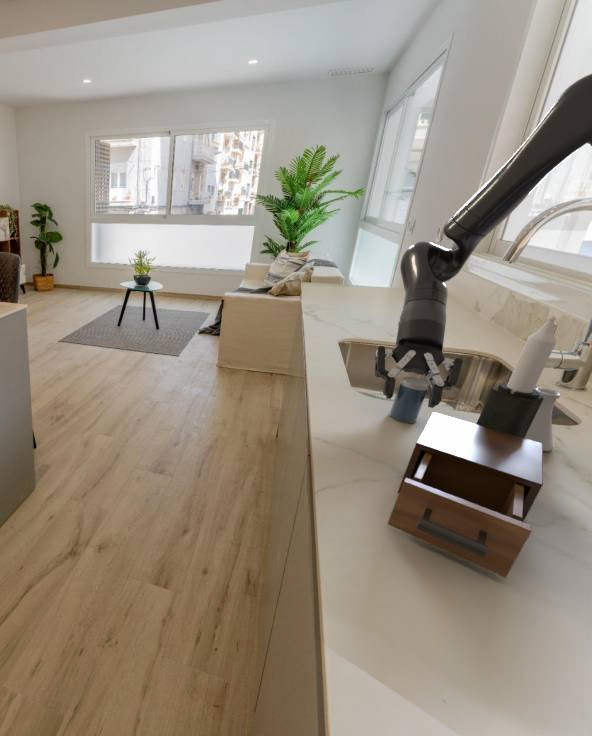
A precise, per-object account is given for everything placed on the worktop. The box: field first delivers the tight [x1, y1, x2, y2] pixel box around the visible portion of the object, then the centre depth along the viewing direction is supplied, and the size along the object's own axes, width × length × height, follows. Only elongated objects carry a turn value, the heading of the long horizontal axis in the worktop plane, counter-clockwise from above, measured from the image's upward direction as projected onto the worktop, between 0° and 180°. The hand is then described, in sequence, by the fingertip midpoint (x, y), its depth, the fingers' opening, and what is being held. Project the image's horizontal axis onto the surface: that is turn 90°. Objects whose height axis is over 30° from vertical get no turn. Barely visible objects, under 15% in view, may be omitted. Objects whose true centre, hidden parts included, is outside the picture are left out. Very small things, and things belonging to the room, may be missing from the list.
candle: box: [476, 315, 557, 438], centre depth 66 cm, size 5×5×25 cm
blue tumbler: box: [389, 376, 430, 424], centre depth 83 cm, size 4×4×8 cm
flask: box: [525, 387, 562, 452], centre depth 75 cm, size 7×7×10 cm
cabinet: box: [397, 411, 544, 522], centre depth 61 cm, size 14×13×9 cm
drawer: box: [387, 452, 532, 579], centre depth 53 cm, size 17×11×7 cm
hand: (410, 401), depth 81 cm, fingers open, 6 cm apart
